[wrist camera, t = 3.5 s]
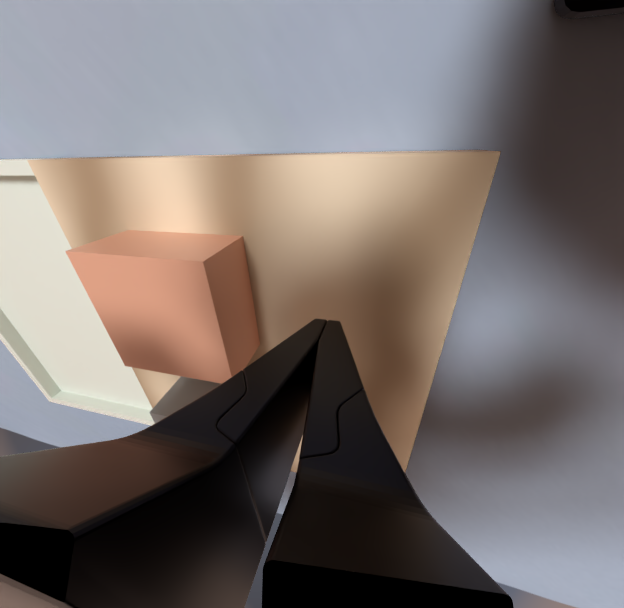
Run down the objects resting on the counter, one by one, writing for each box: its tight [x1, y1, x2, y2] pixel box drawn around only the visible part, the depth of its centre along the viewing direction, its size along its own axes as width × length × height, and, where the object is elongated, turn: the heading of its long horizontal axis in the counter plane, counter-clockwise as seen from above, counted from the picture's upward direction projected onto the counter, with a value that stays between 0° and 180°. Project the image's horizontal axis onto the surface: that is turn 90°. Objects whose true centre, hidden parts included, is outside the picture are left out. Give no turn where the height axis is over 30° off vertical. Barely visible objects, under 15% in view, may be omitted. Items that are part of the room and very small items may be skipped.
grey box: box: [149, 376, 221, 423], centre depth 14 cm, size 5×5×2 cm
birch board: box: [27, 150, 501, 472], centre depth 14 cm, size 16×18×2 cm
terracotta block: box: [65, 230, 260, 384], centre depth 10 cm, size 5×5×2 cm
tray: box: [0, 158, 155, 425], centre depth 17 cm, size 12×18×1 cm, turn 2°
